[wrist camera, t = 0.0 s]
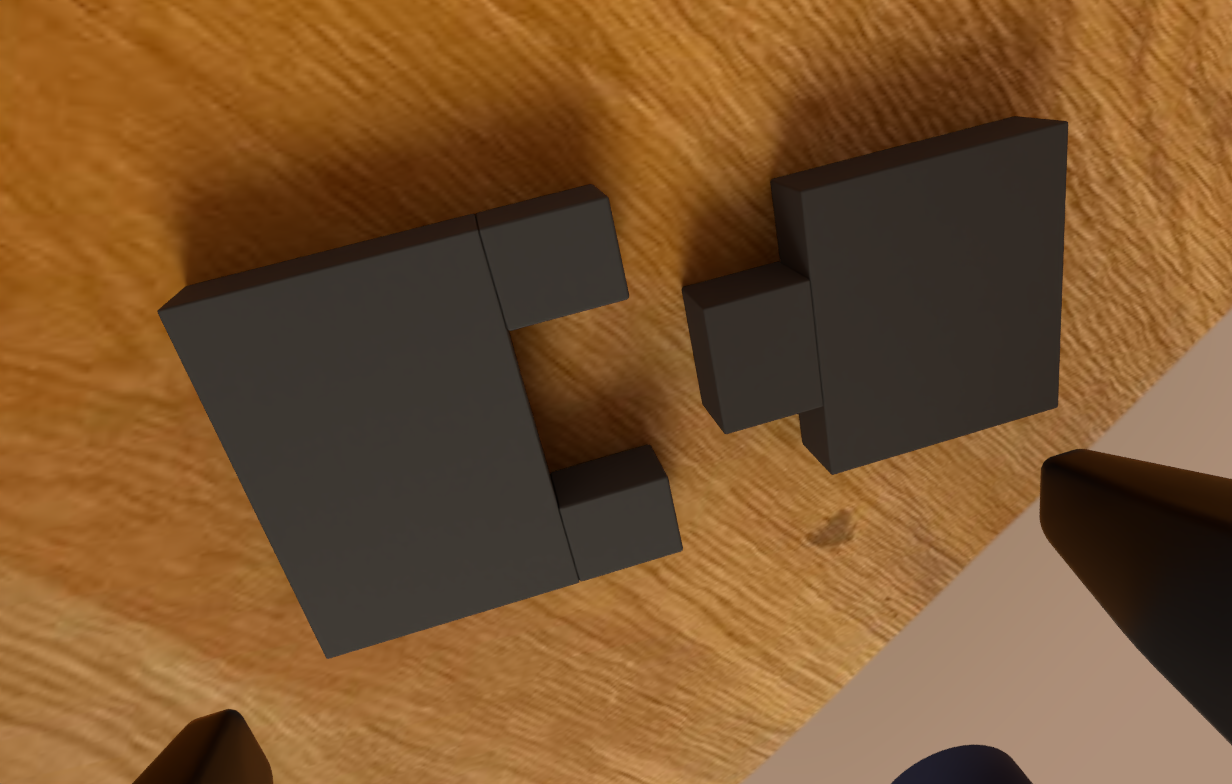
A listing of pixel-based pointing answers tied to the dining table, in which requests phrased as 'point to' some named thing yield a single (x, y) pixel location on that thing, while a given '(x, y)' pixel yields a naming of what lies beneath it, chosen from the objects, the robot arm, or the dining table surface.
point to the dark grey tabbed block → (897, 297)
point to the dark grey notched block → (418, 419)
